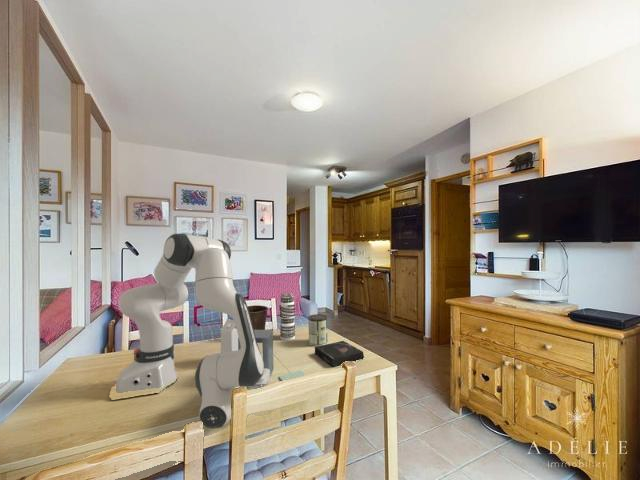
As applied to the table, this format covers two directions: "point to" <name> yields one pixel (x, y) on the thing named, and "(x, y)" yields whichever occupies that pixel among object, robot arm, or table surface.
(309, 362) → the table surface
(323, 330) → the coffee can
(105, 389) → the table surface
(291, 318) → the white and brown cylinder
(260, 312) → the plant pot
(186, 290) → the robot arm
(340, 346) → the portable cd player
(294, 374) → the pad
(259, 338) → the frame
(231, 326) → the milk carton
